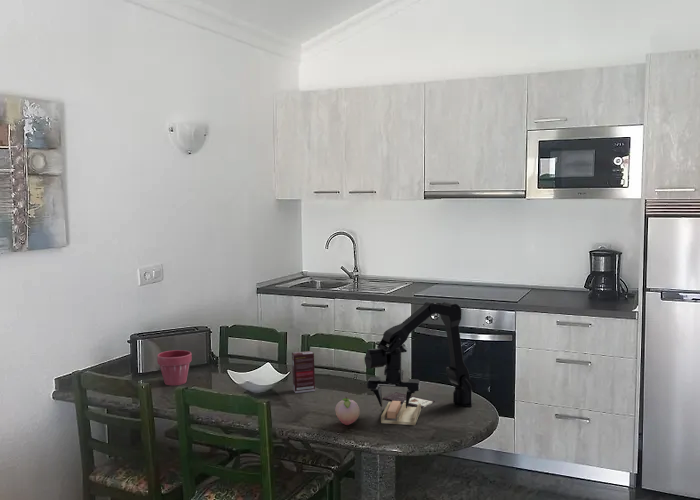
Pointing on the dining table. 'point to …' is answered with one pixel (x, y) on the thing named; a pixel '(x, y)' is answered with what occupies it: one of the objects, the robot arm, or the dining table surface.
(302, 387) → the supplement box
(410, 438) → the dining table surface
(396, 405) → the clay strip
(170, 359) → the plant pot
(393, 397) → the chocolate bar
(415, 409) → the cream desk organizer
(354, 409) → the decorative fruit
